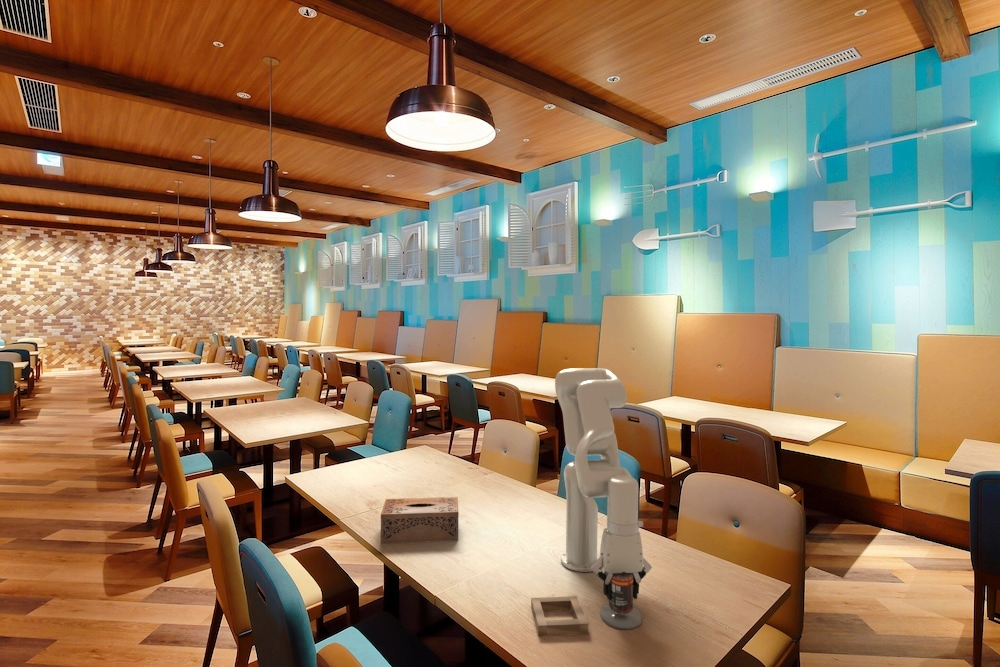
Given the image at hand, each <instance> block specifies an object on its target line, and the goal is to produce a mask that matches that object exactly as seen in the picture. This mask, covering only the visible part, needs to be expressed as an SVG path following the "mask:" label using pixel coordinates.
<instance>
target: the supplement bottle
mask: <svg viewBox="0 0 1000 667" xmlns="http://www.w3.org/2000/svg"><path fill="white" fill-rule="evenodd" d="M610 583H611V585H612V593H611V600H608V604H609V606H610V608H611V609H612V610H613V611H614V612H617V613H621V614H626V613H629V612H631V611H632V610H633V608H634V598H633V574H632V573H626V572H622V573H615V574H613V575H612V578H611V580H610Z"/></svg>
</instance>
